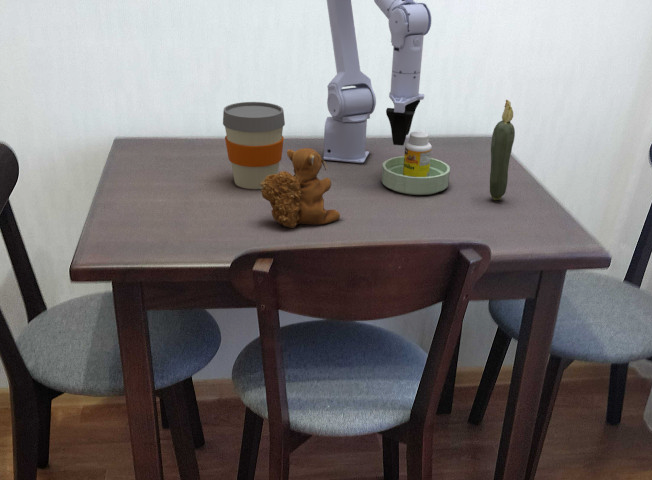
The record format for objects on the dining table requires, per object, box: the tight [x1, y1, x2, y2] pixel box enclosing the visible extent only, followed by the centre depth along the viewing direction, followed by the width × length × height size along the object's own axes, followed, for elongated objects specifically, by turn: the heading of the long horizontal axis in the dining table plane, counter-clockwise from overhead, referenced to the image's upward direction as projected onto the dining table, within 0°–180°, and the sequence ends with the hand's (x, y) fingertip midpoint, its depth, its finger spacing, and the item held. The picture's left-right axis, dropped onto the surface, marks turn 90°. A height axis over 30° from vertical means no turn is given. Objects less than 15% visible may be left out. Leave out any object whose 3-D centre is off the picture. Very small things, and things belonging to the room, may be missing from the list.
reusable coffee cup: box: [222, 101, 286, 190], centre depth 159 cm, size 13×13×15 cm
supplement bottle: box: [403, 131, 433, 177], centre depth 162 cm, size 6×6×10 cm
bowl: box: [381, 155, 451, 196], centre depth 164 cm, size 14×14×4 cm
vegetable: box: [489, 99, 516, 201], centre depth 153 cm, size 4×4×20 cm
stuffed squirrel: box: [259, 147, 341, 229], centre depth 143 cm, size 10×14×13 cm
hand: (401, 139), depth 160 cm, fingers open, 7 cm apart
